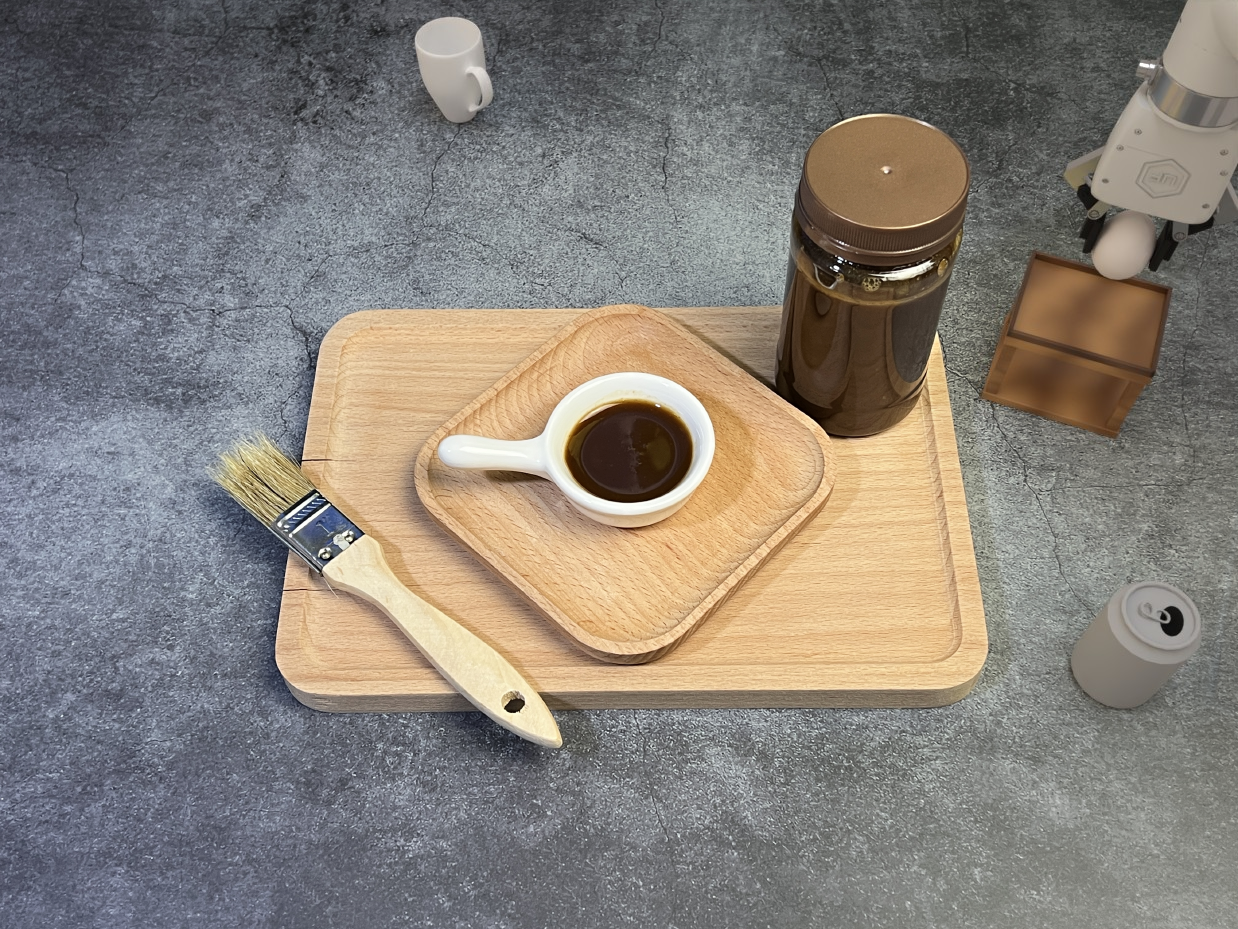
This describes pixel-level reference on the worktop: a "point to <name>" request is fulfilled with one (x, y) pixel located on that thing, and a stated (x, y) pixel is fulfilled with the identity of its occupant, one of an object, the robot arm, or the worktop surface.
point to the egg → (1124, 245)
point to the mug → (454, 67)
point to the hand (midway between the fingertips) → (1121, 251)
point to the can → (1136, 643)
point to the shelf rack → (1078, 344)
